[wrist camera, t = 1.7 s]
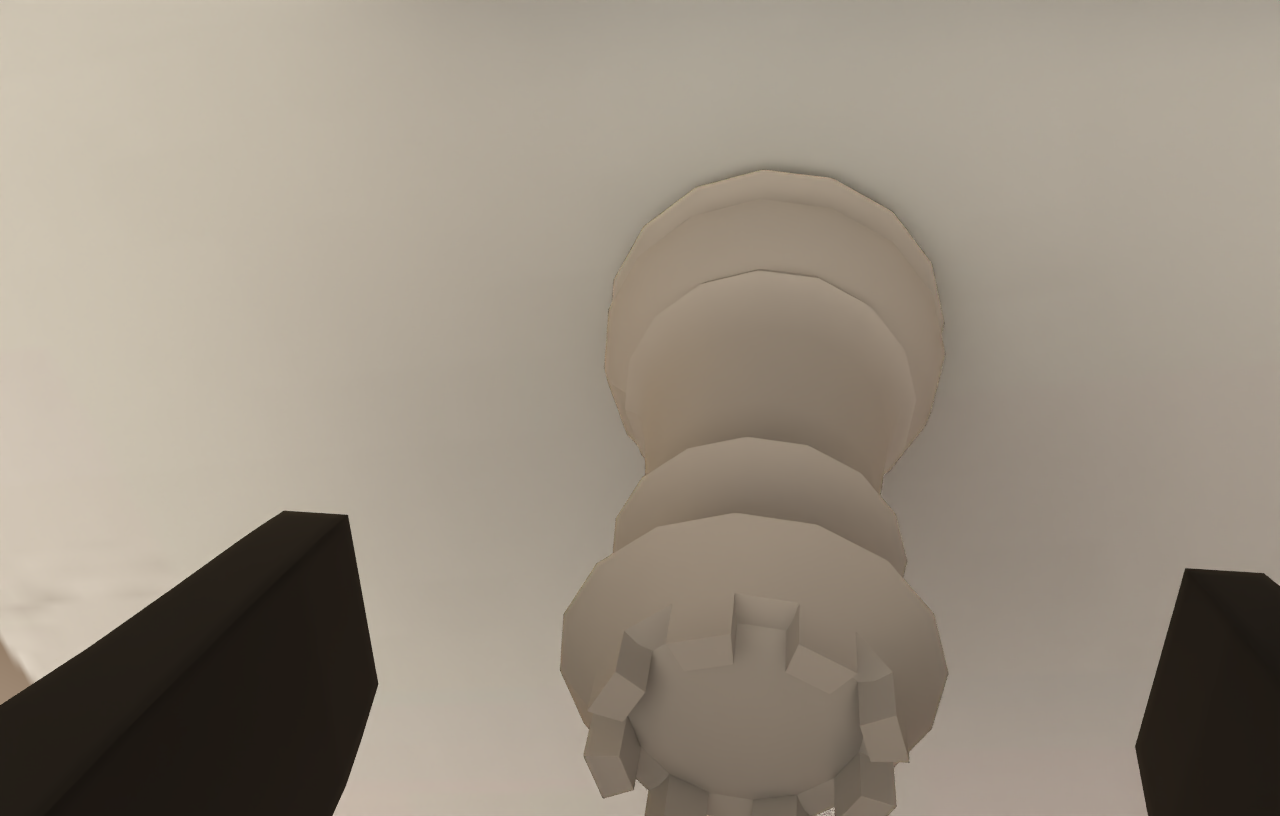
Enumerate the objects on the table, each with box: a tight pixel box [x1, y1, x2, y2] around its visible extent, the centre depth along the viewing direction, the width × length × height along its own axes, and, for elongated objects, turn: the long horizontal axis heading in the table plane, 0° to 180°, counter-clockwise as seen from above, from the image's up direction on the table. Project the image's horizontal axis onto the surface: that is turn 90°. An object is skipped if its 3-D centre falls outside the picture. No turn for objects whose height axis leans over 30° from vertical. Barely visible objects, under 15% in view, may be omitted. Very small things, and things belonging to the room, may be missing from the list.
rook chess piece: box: [560, 170, 948, 816], centre depth 12 cm, size 4×4×8 cm
